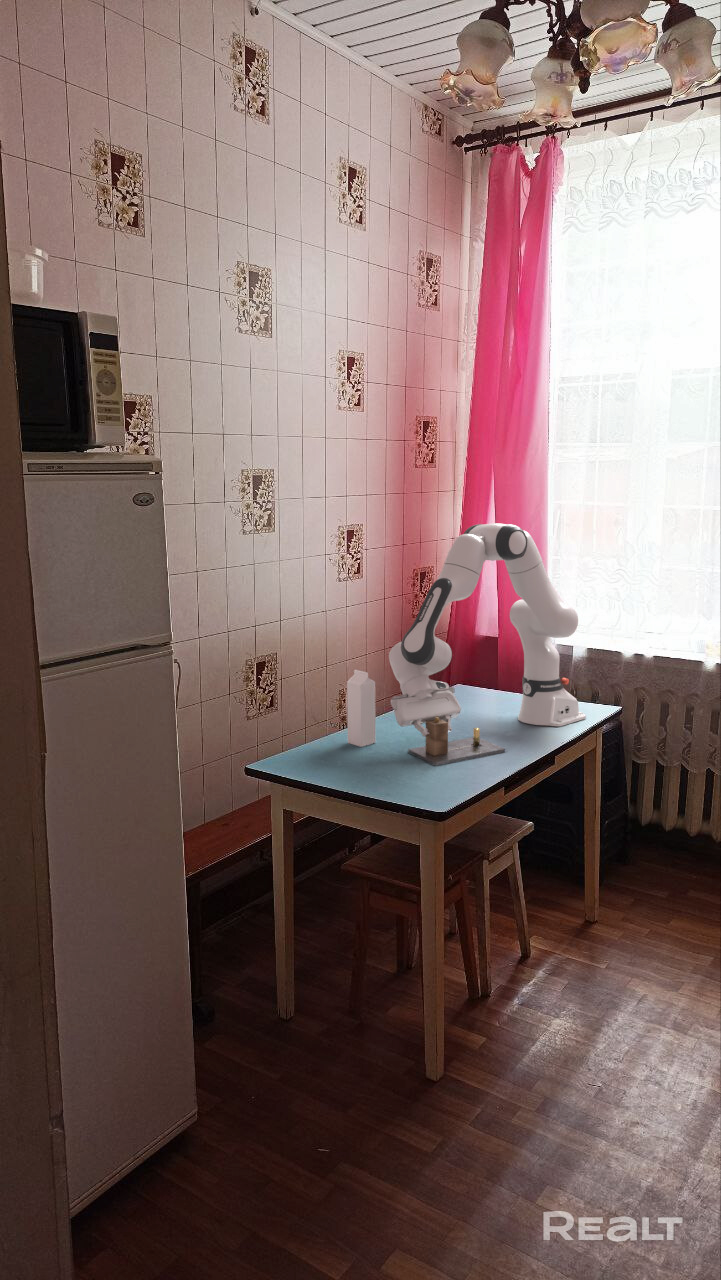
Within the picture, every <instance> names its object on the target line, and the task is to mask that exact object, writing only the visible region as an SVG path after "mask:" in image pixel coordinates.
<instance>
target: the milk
mask: <svg viewBox="0 0 721 1280" xmlns="http://www.w3.org/2000/svg"><path fill="white" fill-rule="evenodd" d="M346 695H347V696H346V698H347V700H346V703H347V706H346V711H347V716H346V717H347V718H346V719H347V743H348V744H351V745H354V746H357V747H360V748H362V747H366V745H367V746H369V745H373V743H374V744H376V740H377V739H376V681H375V680H373V679H372V678H370V677H369V673H368V671H367V672H366V671H362V670H359V669H354V670H353V675H352V676H351V677H350V678H349V679H348V680H347V681H346Z"/></svg>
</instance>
